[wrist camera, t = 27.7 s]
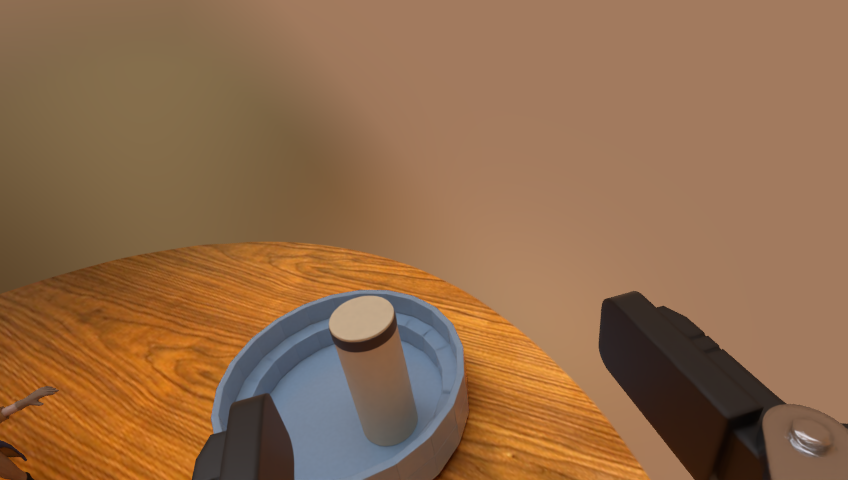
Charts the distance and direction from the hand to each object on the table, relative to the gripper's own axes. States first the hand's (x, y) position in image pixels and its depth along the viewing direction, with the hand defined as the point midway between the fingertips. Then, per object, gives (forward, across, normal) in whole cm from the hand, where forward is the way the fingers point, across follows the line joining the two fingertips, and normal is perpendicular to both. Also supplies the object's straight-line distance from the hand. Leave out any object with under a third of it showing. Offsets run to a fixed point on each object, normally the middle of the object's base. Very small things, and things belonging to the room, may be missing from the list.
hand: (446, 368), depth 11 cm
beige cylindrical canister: (+19, +2, +25) cm, 32 cm away
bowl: (+22, +6, +26) cm, 35 cm away
